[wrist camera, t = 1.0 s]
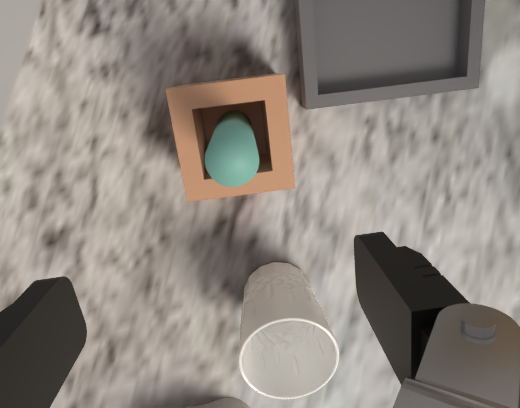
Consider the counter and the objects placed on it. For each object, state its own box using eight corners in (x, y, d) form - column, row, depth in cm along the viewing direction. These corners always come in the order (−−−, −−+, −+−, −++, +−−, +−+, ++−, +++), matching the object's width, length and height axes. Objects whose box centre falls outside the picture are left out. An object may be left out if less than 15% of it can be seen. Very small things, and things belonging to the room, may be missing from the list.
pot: (275, 73, 32) (284, 74, 25) (284, 165, 34) (295, 188, 28) (180, 84, 32) (165, 89, 25) (197, 176, 34) (187, 201, 28)
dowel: (249, 108, 32) (255, 130, 20) (254, 143, 33) (262, 183, 21) (214, 112, 32) (200, 137, 20) (219, 148, 33) (209, 190, 21)
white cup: (234, 260, 38) (232, 324, 28) (313, 251, 38) (337, 312, 28) (243, 326, 40) (244, 404, 31) (316, 318, 40) (340, 393, 31)
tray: (471, -77, 29) (491, -90, 27) (461, 86, 33) (478, 87, 31) (289, -55, 29) (293, -66, 26) (301, 106, 33) (306, 109, 30)
